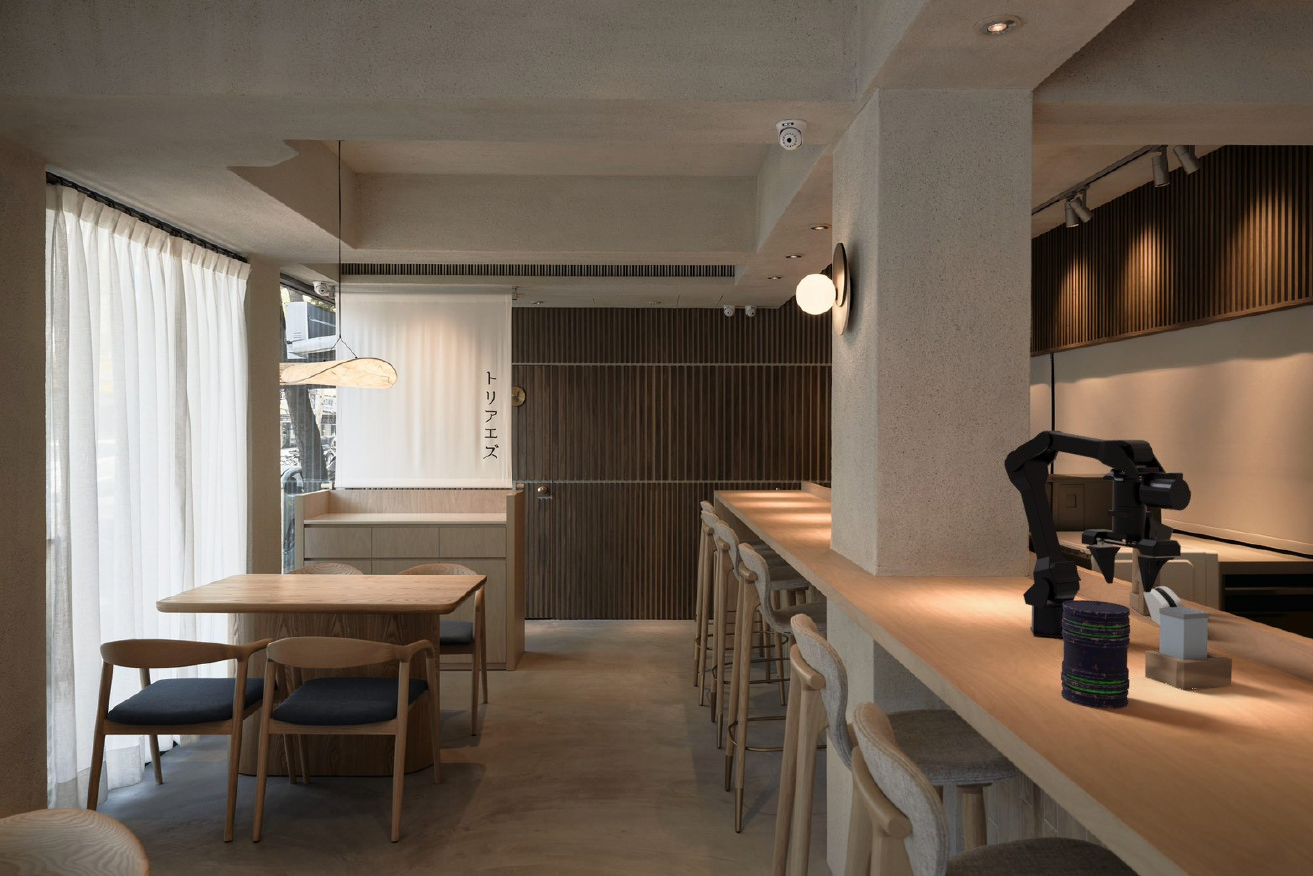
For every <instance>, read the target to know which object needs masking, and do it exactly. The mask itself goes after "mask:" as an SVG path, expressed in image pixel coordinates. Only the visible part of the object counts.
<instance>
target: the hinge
mask: <svg viewBox="0 0 1313 876" xmlns="http://www.w3.org/2000/svg"><path fill="white" fill-rule="evenodd" d="M1159 586H1160V587H1156V588H1155V589H1152V590H1151V592H1144V593H1143V594H1144V597H1145V600H1146V603H1147V606H1148V609H1149V612H1150V615H1151V616H1150V617H1151V620H1152V621H1153V622H1154V623H1156V624H1157V625H1158V626H1160V613H1159V608H1171V607H1185V606H1184V604H1183V602H1182V600H1181V598H1180V597H1178V595H1177V594H1176V593H1175V592H1174V591H1173V590H1172V589H1171V588H1169V587H1167V586H1165V585H1162V586H1161V585H1159Z"/></svg>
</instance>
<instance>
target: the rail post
mask: <svg viewBox="0 0 1313 876" xmlns="http://www.w3.org/2000/svg"><path fill="white" fill-rule="evenodd" d="M1159 613H1160V625H1159V653H1162V654H1165V655H1169V656H1172V657H1175V658H1178V659H1181V660H1193V659H1205V658H1207V652H1208V633H1209V631H1208V630H1209V622H1208V621H1209V618H1210V613H1209V612H1206V611H1202V610H1198V609H1194V608H1190V607H1187V606H1184V607H1171V608H1159Z"/></svg>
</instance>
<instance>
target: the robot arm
mask: <svg viewBox="0 0 1313 876" xmlns="http://www.w3.org/2000/svg"><path fill="white" fill-rule="evenodd" d="M1059 452H1060V453H1066V454H1071V455H1075V456H1080V457H1085V458H1090V459H1095V460H1097V461H1099V462H1100V463H1101V464H1102V465H1104V466H1106V467H1110V468H1111V469H1110V471H1109V472H1107V473H1105V475H1104V476H1103V477H1102V480H1103V481H1109V482H1112V509H1108V510H1106V511H1107V513H1106V514H1107V516H1110V517H1112V518H1111V519H1112V520H1111V522H1112V525H1111V527H1112V528H1111V529H1106V528H1098V529H1095V528H1094V529H1093V528H1092V529H1085V530H1084V531H1083V532H1082V533H1081V544H1083V545H1086V546H1085V548H1086V550H1089V552H1090V553H1091V556H1092V557H1093V558H1094V559H1093V560H1095V562H1096V564H1097V566H1098V568H1099V570H1100V572H1101V574H1102V576H1103V578H1104V580H1105V582H1106V584H1109V585H1111V584H1113V583H1114V578H1115V565H1116V564H1115V563H1116V555H1117V553H1118V552H1119V551H1120V549H1121V547H1126V548H1131V549H1133V548H1136V549H1138V550H1139V552H1140V553H1141V554H1142V555H1145V556H1137V558H1138V563H1139V569H1140V574H1141V580H1142V585H1143V588H1144V592H1151V590H1152V588H1153V585H1154V583H1155V581H1156V578H1157V576H1158V574H1159V572H1160V573H1161V569H1162V568H1163V567H1164V565H1165V564H1166V563H1168V562H1169V561H1174V559H1176V557H1181V553H1182V550H1181V549H1182V546H1181V544H1180V543H1179V541H1178V540H1176V539H1172V534H1173V531H1174V528H1173V527H1171V526H1169V525H1166V524H1164V523H1161V522H1159V521H1155V520H1154V513H1153V512H1152V511H1147V510H1148V509H1147V508H1151V509H1161V510H1170V511H1181V512H1182V511H1183V510H1185V509H1187V507H1188V506H1189V505H1190V502H1191V497H1192V491H1191V490H1190V486H1189V483H1188V482H1187V481H1186V480H1185V479H1184V473H1183V472H1166V470H1165V469H1164V467H1163V466H1162V464H1161V462H1159V460H1158V458H1157V456H1156V455H1155V454H1154V451H1153V447H1152V446H1151V444H1150V442H1148V440H1144V439H1103V438H1102V439H1101V438H1096V437H1089V436H1084V435H1078V434H1074V433H1069V432H1068V433H1067V432H1063V431H1061V430H1043V431H1041V432H1039V433H1038V434H1037V435H1035V436H1034V437H1033V438H1032V439H1030V440H1028V441H1026V442H1024V443H1023V444H1020V445H1019V446H1018V447H1016V448H1015V450H1012V451H1009V452H1008V454H1007V456H1006V458H1005V459H1004V463H1003V464H1004V469H1005V472H1006V474H1007V477H1008V479H1009V481H1010V483H1011V484H1012V485H1013V486H1014V487H1015V488H1016V490H1017V491H1018V492H1019V493H1020V496H1021V501H1022V504H1023V509H1024V512H1025V515H1026V520H1027V524H1028V527H1029V532H1030V536H1031V539H1032V544H1033V548H1034V552H1035V556H1036V561H1035V565H1034V568H1033V573H1032V575H1033V584H1032V585H1030V587H1029V588H1027V590H1026V591H1025V592H1024V593H1023V600H1024V604H1025V605H1027V606H1031V626H1030V627H1029V630H1030V631H1031V633H1032V636H1035V637H1045V636H1049V637H1050V638H1060V637H1062V628H1063V627H1062V619H1063V611H1064V609H1063V603H1064V602H1066V601H1073V600H1075V599H1076V596H1077V594H1078V592H1080V590H1081V589H1080V586H1081V585H1080V582H1081V581H1082V579H1081V576H1080V574H1079V572H1078V565H1077V563H1076V561H1074V560H1073V561H1068V560H1067V558H1066V557H1065V556H1064V555H1063V553H1062V549H1061V545H1060V540H1059V537H1058V533H1057V529H1056V525H1055V521H1054V518H1053V513H1052V511H1051V507H1050V503H1049V499H1048V495H1047V491H1046V486H1047V483H1048V479H1049V475H1050V472H1049V466H1050V465H1051V464H1052V463H1054V462H1055V461H1056V459H1057V456H1058V454H1059ZM1123 540H1124V541H1123ZM1133 543H1135V544H1133Z"/></svg>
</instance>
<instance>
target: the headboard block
mask: <svg viewBox="0 0 1313 876" xmlns="http://www.w3.org/2000/svg"><path fill="white" fill-rule="evenodd" d="M1232 662H1233V660H1232V658H1229V657H1225V656H1222V655H1218V654H1216V653H1212V652H1208V651H1207V658H1205V659H1193V660H1181V659H1178V658H1175V657H1172V656H1169V655H1165V654H1162V653H1160V651H1155V650H1145V663H1144V665H1145V666H1144V667H1145V668H1144V669H1145V671H1144V677H1146V678H1147V679H1148V678H1149V679H1150V678H1151V680H1153V679H1154V680H1153V681H1157V682H1159V683H1162V684H1165V683H1167V684H1169V685H1168V686H1170V685H1172V686H1171V687H1173V686H1174V687H1173V688H1177V689H1179V688H1181V689H1180V690H1182V689H1183V691H1187V690H1186V689H1191V690H1195V689H1194V688H1202V689H1209V688H1208V687H1213V688H1220V687H1221V688H1222V686H1223V687H1232V674H1233V673H1232V672H1233V671H1232V669H1233V668H1232V667H1233V665H1232V664H1233V663H1232ZM1167 684H1166V685H1167ZM1229 685H1230V686H1229ZM1192 688H1193V689H1192Z"/></svg>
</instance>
